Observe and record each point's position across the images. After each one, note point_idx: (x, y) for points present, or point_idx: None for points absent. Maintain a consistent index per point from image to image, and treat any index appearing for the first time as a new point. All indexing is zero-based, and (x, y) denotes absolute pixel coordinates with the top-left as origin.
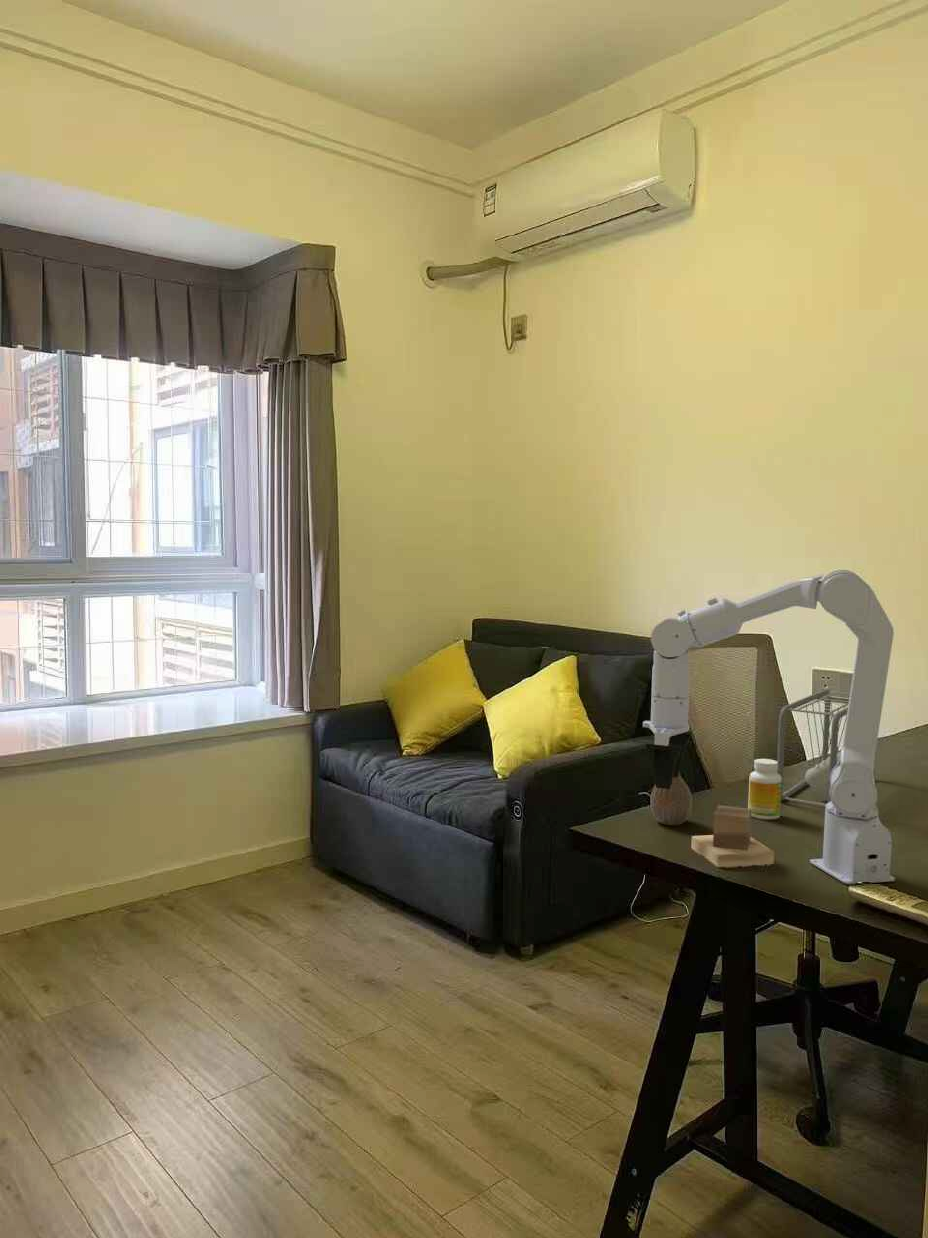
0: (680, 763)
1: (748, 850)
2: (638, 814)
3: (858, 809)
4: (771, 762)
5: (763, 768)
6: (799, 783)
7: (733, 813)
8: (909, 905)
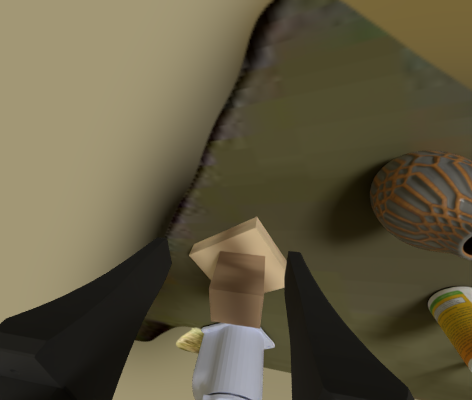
0: (288, 318)
1: None
2: (467, 109)
3: None
4: None
5: None
6: None
7: (223, 309)
8: (182, 347)
